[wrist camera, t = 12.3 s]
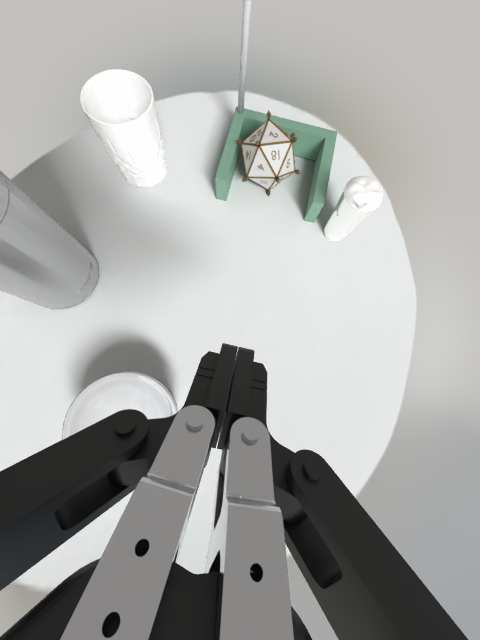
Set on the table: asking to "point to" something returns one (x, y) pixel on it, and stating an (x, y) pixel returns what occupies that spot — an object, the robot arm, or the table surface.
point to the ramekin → (118, 400)
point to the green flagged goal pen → (310, 138)
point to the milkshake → (353, 206)
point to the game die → (268, 155)
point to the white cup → (127, 124)
